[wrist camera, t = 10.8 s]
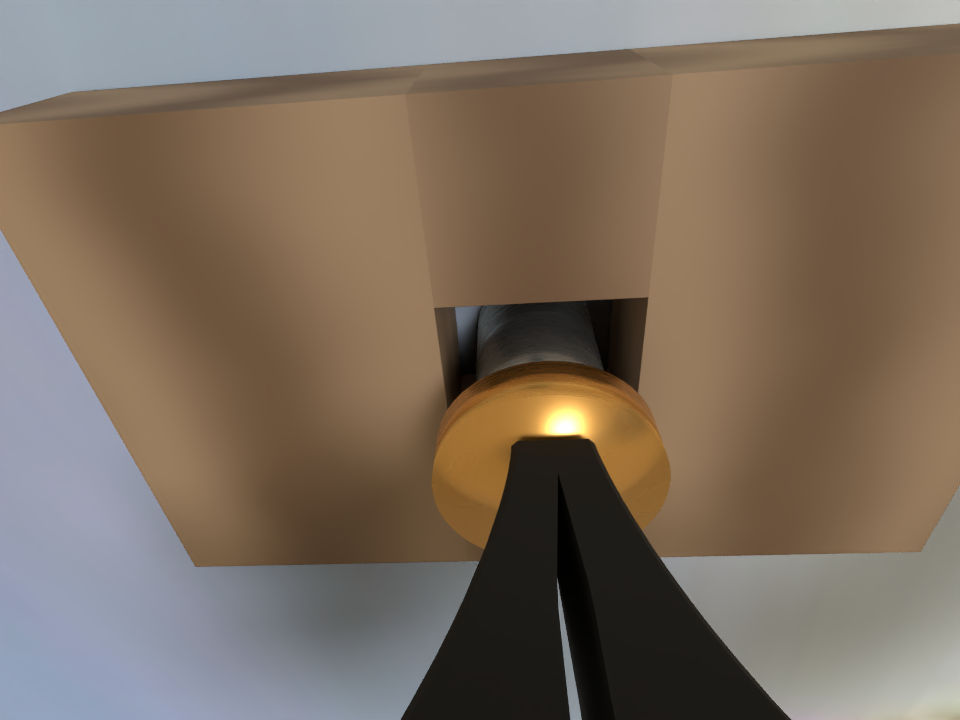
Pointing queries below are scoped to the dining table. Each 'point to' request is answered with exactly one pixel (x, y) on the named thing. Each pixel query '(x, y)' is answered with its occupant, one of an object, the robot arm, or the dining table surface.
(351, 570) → the dining table surface
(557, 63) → the hitch block
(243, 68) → the dining table surface
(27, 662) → the dining table surface
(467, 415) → the pin
